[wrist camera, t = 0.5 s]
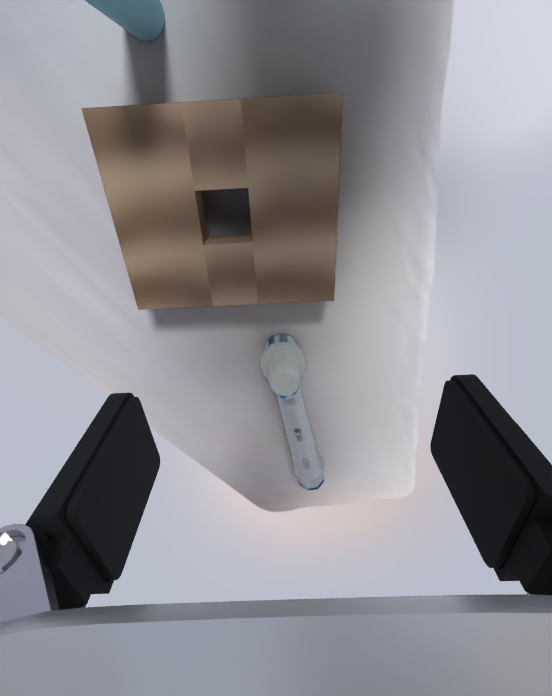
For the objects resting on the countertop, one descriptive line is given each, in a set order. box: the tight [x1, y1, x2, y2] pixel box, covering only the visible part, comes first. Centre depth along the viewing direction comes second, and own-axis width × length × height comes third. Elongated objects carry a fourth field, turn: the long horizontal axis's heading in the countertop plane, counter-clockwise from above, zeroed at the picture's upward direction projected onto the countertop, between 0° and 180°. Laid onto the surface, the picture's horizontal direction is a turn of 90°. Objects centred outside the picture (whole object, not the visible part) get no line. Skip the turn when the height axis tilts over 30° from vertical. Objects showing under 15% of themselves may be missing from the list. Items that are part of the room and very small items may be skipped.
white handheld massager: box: [260, 334, 324, 490], centre depth 46 cm, size 5×7×25 cm
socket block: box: [82, 92, 342, 310], centre depth 32 cm, size 17×20×4 cm
